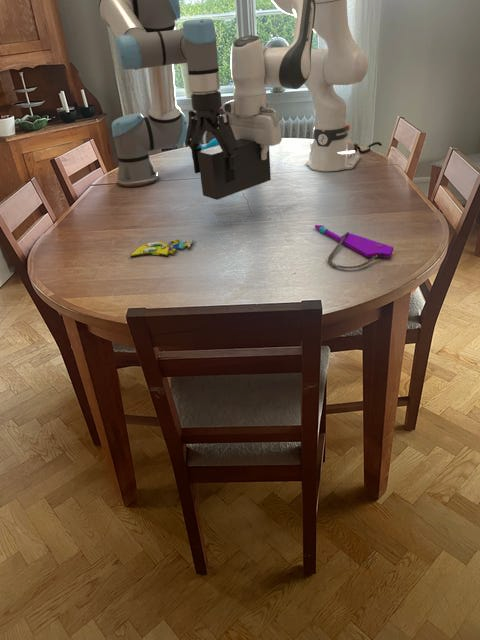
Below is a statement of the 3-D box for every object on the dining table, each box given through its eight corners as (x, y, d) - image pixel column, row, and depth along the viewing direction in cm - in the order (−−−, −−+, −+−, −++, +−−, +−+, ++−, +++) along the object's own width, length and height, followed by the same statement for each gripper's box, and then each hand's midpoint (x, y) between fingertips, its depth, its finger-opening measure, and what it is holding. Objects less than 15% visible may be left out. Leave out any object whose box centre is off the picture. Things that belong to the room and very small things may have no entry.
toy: (185, 253, 123) (129, 254, 125) (186, 256, 123) (130, 257, 125) (193, 237, 131) (141, 238, 133) (194, 240, 132) (141, 241, 134)
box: (216, 200, 131) (211, 154, 124) (202, 195, 135) (197, 151, 128) (270, 180, 141) (268, 137, 135) (256, 176, 145) (253, 134, 139)
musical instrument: (376, 279, 107) (404, 235, 119) (376, 271, 106) (404, 227, 118) (282, 266, 120) (316, 227, 132) (281, 259, 119) (315, 220, 131)
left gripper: (250, 92, 114) (255, 181, 125) (188, 86, 130) (197, 165, 142) (225, 98, 110) (233, 189, 121) (165, 91, 126) (177, 171, 138)
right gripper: (285, 106, 125) (287, 160, 133) (235, 101, 139) (239, 150, 146) (268, 111, 122) (271, 165, 130) (218, 105, 135) (223, 155, 143)
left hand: (214, 176), depth 132 cm, fingers open, 13 cm apart
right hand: (253, 157), depth 138 cm, fingers closed on box, 6 cm apart
